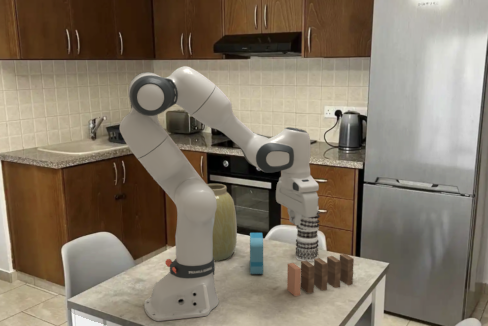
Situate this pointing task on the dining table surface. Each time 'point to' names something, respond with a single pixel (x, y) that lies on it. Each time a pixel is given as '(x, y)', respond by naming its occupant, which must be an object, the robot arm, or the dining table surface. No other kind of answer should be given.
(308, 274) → the domino
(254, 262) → the data package
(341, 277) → the domino
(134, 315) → the dining table surface
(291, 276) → the domino
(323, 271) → the domino
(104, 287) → the dining table surface
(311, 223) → the decorative candle
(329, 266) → the domino
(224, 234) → the vase
